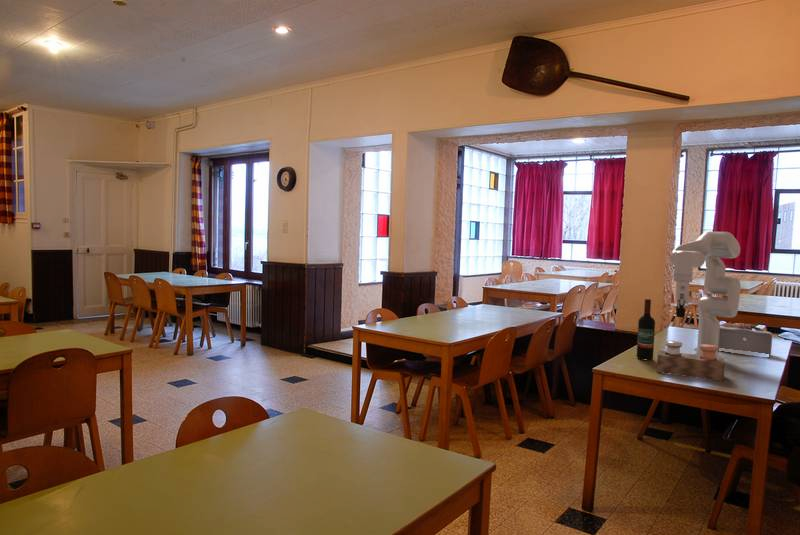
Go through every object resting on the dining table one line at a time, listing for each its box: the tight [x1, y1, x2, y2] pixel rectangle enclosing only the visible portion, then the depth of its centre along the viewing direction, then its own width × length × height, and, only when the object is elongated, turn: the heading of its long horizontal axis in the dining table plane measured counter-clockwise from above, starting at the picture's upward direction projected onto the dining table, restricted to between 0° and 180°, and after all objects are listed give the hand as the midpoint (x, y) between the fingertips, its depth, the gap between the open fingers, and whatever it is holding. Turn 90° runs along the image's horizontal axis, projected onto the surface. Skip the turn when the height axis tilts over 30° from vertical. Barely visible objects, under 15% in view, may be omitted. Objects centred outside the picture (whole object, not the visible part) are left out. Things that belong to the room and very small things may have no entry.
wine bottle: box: [636, 298, 656, 361], centre depth 267 cm, size 8×8×30 cm
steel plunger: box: [664, 340, 683, 356], centre depth 244 cm, size 7×7×9 cm
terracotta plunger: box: [700, 344, 718, 361], centre depth 237 cm, size 7×7×9 cm
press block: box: [656, 349, 726, 382], centre depth 241 cm, size 26×11×8 cm, turn 61°
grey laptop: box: [719, 326, 773, 358], centre depth 288 cm, size 25×16×12 cm, turn 53°
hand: (680, 315), depth 242 cm, fingers open, 9 cm apart
